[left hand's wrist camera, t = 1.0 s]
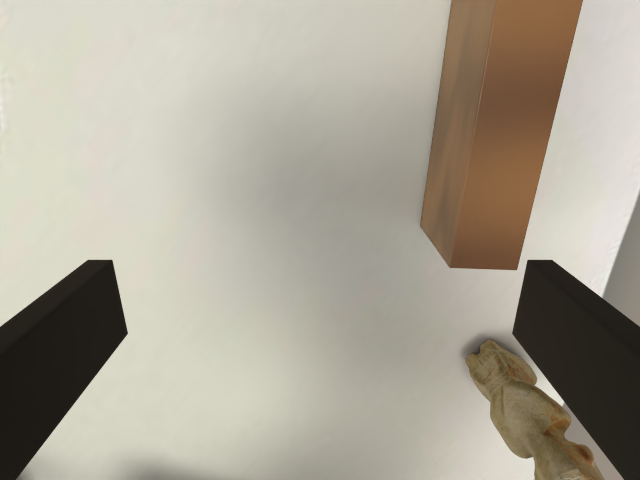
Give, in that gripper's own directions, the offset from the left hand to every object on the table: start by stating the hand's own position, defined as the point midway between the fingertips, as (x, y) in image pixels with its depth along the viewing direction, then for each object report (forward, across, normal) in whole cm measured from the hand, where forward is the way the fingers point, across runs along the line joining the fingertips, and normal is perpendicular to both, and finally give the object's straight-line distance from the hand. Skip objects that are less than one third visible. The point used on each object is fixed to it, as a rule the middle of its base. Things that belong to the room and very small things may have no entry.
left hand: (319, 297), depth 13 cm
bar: (+23, -12, -6) cm, 27 cm away
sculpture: (+23, -18, +21) cm, 36 cm away
